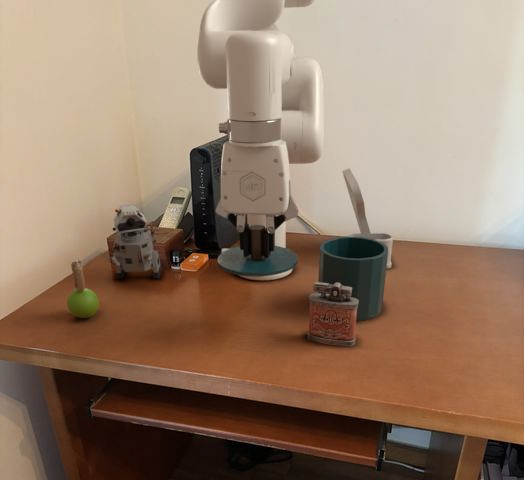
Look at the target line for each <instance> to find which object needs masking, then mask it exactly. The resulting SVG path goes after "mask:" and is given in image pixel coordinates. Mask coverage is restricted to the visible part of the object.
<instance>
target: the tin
mask: <svg viewBox="0 0 524 480" xmlns="http://www.w3.org/2000/svg"><path fill="white" fill-rule="evenodd" d="M387 258H388V247H387V246H386V245H385V244H384V243H382V242H380V241H377V240H374V239H370V238H364V237H347V236H340V237H333V238H330V239H326V240H325V241H323V242H322V243H320V245H319V256H318V280H317V282H321V283H329V284H330V285H334V283H336V282H337V283H340V284H341V285H342V286H347V287H352V294H351V297H352V298H356V299H358V300H359V304H358V307H357V315H356V322H361V321H367V320H371V319H373V318H375V317H377V316H378V315H379V314H381V312H382V310H383V304H384V293H385V285H386V276H387V269H388V268H387ZM317 293H321V292H317ZM326 294H330V293H326ZM344 296H345V295H344Z"/></svg>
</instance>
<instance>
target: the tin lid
mask: <svg viewBox="0 0 524 480" xmlns="http://www.w3.org/2000/svg"><path fill="white" fill-rule="evenodd" d="M264 233H265V226H262V225H252V226H250V227H249V256H247V257H244V255H243V250H240V245H238V246H235V247H232V248H228V249H229V250H226V251H224V252H223V253H222V252H221V253H220V254H219V255H218V257H217V265H218V267H219V268H220V269H221V270H222V271H224V272H226V273H229V274H232V275H237V276H239V275H241V276H254V277H257V276H271V275H276V274H281V273H284V272H287V271H289V270H291V269H292V268H293V269H294V268H295V267H296V266H297V264H298V259H299V258H298V255H297V254H296V253H295V252H294V251H293V250H291V249H289V248H287V247H286V248H283V247H279V246H275V250H274V251H271V254H270V256H269V258H265V257H264ZM241 276H240V277H241Z"/></svg>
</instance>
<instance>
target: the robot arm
mask: <svg viewBox="0 0 524 480" xmlns="http://www.w3.org/2000/svg"><path fill="white" fill-rule="evenodd" d="M314 1H315V0H213V1H211V2H210V3H209V5H207V7H206V8H205V10H204V12H203V14H202V17H201V20H200V25H199V32H198V33H199V34H198V39H197V40H198V41H197V49H196V51H197V52H196V55H197V59H196V61H197V69H198V74H199V77H200V78H201V80H202V82H203V83H204V84H205V85H206V86H208V87H209V88H212V89H217V90H220V89H221V90H223V89H224V90H226V95H227V97H226V98H227V117H228V118H227V120H226V121H225V122H220V123H218V132H219V133H220V134H224V135H226V137H227V139H228V140H227V141H225V142H224V143H223V146H222V154H221V166H220V169H221V170H220V198H219V201H218V203H217V205H216V208H215V213H216V214H217V215H218V216H220V217H222V218H224V219H226V220H228V221H229V222H230V223H231V224H232V225H233V227H235V228H236V231H237V232H238V233H239V246H240V250H243V255H244V257H247V256H249V227H250V226H252V225H262V226H265V233H264V257H265V258H269V256H270V254H271V251H274V250H275V246H279V247H283V248H286V249H287V247H286V245H287V243H286V242H287V240H286V239H287V236H286V235H287V233H286V232H287V221H290V220H292V219H294V218H296V217H298V215H299V208H298V206H297V205H296V202H295V200H294V198H293V196H292V192H291V188H292V187H291V173H290V171H291V170H290V165H303V164H304V165H307V164H313V163H316V162H317V161H318V160H319V159H320V158H322V155H323V151H324V146H325V108H324V107H325V105H324V99H325V98H324V79H323V72H322V68H321V66H320V63H319V62H318V61H317V60H316V59H314V58H312V57H308V56H296V48H295V45H294V44H293V43H292V41H291V39H290V37H289V36H288V35H287V33H285V32H283V31H281V30H280V29H279V27H278V26H277V24H276V22H277V21H278V20H279V19H280V17H281V15H283V12H284V9H286V8H287V9H288V8H306V7H309V6H311V5H312V4H313V3H314ZM229 249H230V248H221V253H223V252H224V251H226V250H229ZM293 270H294V268H292V269H291V270H289V271H287V272H284V273H281V274H276V275H271V276H257V277H254V276H241V275H238V276H239V277H240V278H243V279H247V280H252V281H271V280H272V281H273V280H279V279H282V278H285V277H287V276H288V275H290V274H291V273H292V272H293Z"/></svg>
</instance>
